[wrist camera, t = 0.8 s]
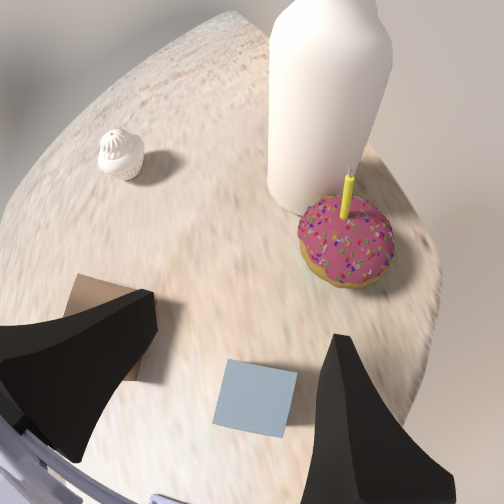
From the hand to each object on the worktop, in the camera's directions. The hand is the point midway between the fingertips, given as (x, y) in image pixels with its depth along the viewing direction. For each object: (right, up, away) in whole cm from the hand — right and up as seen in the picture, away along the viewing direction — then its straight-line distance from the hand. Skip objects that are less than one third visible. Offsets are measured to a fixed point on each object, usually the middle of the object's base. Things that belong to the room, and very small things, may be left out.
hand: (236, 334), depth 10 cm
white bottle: (+7, +10, +21) cm, 24 cm away
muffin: (-15, +13, +23) cm, 30 cm away
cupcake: (+9, +2, +17) cm, 19 cm away
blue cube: (+1, -9, +12) cm, 15 cm away
